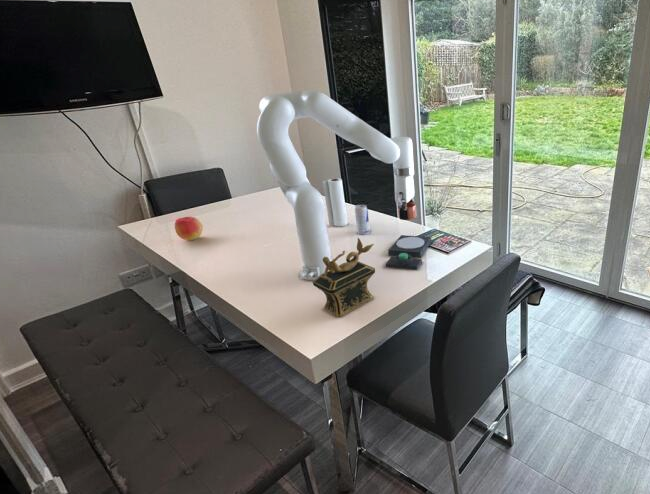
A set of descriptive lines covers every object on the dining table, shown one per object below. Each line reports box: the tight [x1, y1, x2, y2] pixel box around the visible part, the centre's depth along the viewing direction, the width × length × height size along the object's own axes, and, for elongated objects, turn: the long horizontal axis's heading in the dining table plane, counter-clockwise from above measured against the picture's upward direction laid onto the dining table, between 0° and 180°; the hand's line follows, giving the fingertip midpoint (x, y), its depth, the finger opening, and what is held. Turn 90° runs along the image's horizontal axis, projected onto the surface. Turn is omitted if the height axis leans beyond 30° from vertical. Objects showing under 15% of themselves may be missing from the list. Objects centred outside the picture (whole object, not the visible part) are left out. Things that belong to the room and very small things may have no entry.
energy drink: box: [354, 204, 371, 235], centre depth 177 cm, size 5×5×12 cm
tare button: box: [399, 253, 408, 260], centre depth 149 cm, size 3×3×2 cm
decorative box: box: [312, 237, 376, 317], centre depth 124 cm, size 20×10×20 cm, turn 143°
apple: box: [174, 216, 203, 241], centre depth 173 cm, size 10×10×10 cm
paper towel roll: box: [322, 177, 349, 227], centre depth 184 cm, size 7×6×21 cm
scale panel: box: [385, 254, 423, 271], centre depth 150 cm, size 6×12×3 cm, turn 79°
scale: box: [387, 234, 432, 259], centre depth 163 cm, size 15×13×3 cm
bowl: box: [396, 202, 418, 221], centre depth 157 cm, size 7×7×5 cm
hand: (407, 215), depth 158 cm, fingers closed on bowl, 7 cm apart
